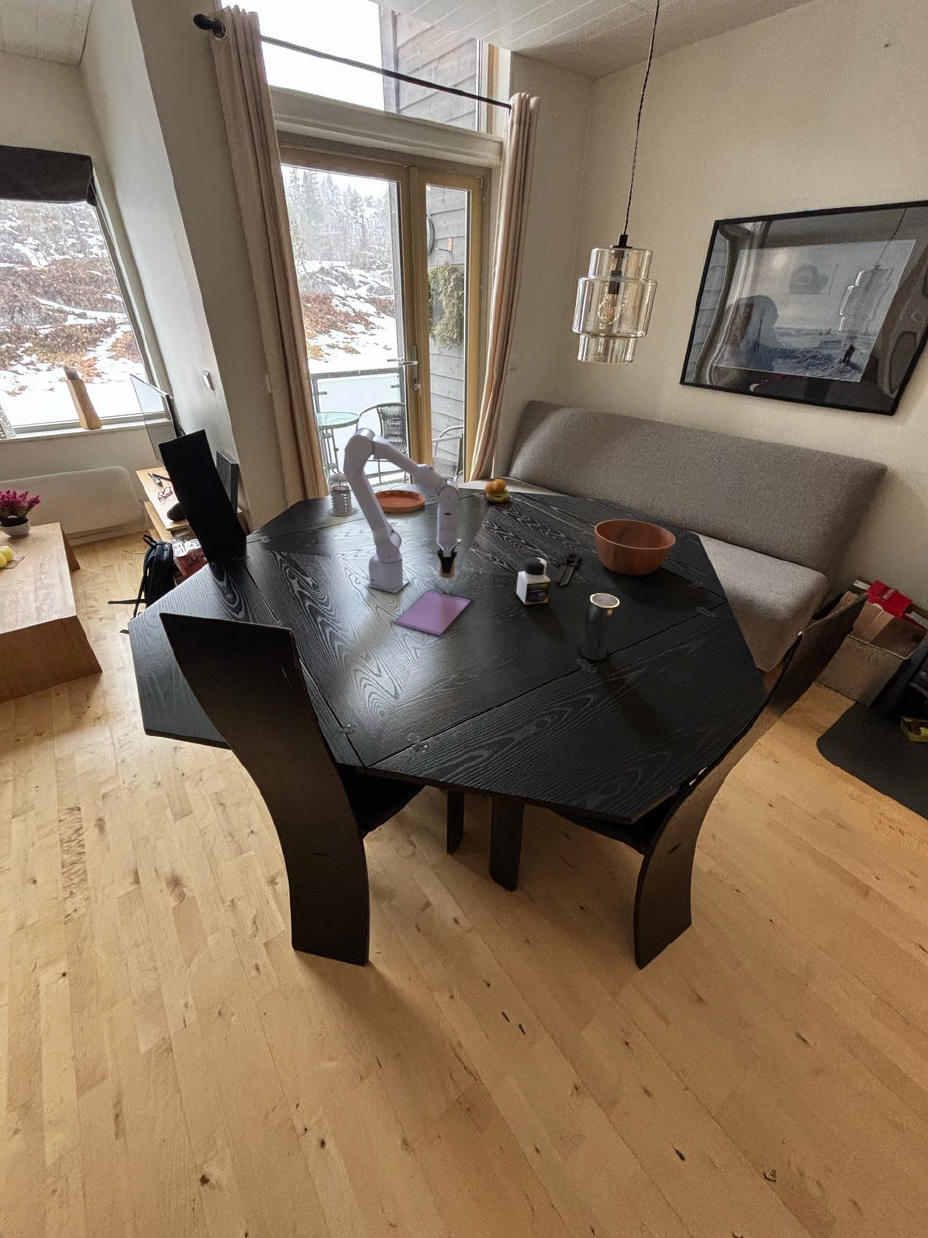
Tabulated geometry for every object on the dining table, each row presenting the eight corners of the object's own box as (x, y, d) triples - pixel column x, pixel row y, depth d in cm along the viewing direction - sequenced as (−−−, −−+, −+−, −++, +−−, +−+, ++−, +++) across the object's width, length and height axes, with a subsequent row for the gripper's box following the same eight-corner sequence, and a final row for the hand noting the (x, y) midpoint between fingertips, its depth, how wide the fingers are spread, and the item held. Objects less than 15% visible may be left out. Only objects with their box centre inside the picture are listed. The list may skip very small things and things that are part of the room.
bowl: (574, 563, 166) (579, 531, 160) (614, 544, 181) (620, 514, 175) (643, 591, 151) (651, 556, 145) (680, 567, 166) (689, 535, 160)
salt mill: (436, 576, 146) (436, 552, 142) (443, 570, 149) (443, 547, 146) (450, 579, 145) (450, 555, 141) (456, 573, 148) (457, 550, 144)
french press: (347, 506, 206) (341, 443, 193) (361, 514, 199) (356, 449, 186) (325, 510, 201) (318, 446, 188) (339, 519, 193) (332, 452, 180)
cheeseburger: (515, 501, 218) (513, 479, 212) (495, 510, 215) (492, 488, 208) (502, 494, 225) (499, 473, 219) (482, 502, 222) (479, 482, 216)
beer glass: (587, 642, 126) (597, 589, 118) (613, 653, 122) (625, 599, 114) (574, 654, 121) (583, 600, 113) (600, 665, 118) (612, 611, 110)
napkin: (394, 623, 130) (394, 622, 130) (429, 591, 146) (429, 590, 146) (439, 636, 126) (439, 634, 126) (470, 601, 142) (470, 600, 142)
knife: (564, 588, 151) (565, 584, 150) (544, 583, 153) (544, 579, 152) (584, 557, 170) (585, 554, 169) (566, 553, 172) (567, 550, 172)
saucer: (404, 494, 222) (404, 486, 220) (435, 508, 207) (436, 499, 206) (359, 503, 209) (358, 495, 207) (389, 519, 195) (389, 510, 193)
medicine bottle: (524, 605, 141) (529, 566, 135) (515, 593, 147) (519, 555, 140) (547, 602, 143) (553, 564, 136) (538, 591, 149) (543, 553, 142)
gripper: (462, 535, 133) (460, 581, 140) (461, 516, 145) (460, 559, 152) (435, 534, 133) (435, 580, 140) (437, 515, 145) (436, 558, 152)
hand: (446, 569), depth 146 cm, fingers closed on salt mill, 4 cm apart
